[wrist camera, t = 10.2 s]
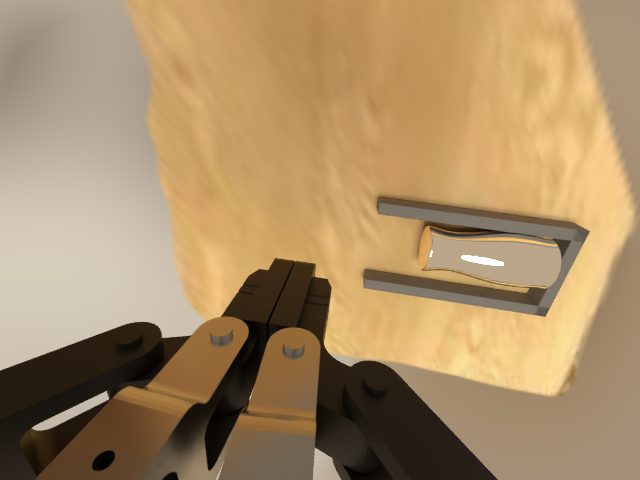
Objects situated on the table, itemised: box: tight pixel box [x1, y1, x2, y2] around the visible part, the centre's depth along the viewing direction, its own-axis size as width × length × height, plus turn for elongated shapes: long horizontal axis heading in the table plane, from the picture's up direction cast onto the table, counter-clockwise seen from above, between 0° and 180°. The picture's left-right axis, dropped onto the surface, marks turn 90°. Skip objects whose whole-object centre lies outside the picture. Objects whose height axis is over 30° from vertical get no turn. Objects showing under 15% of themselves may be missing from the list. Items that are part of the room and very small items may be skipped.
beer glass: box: [418, 226, 561, 289], centre depth 39 cm, size 7×7×15 cm
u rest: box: [364, 197, 590, 317], centre depth 41 cm, size 13×26×3 cm, turn 84°
